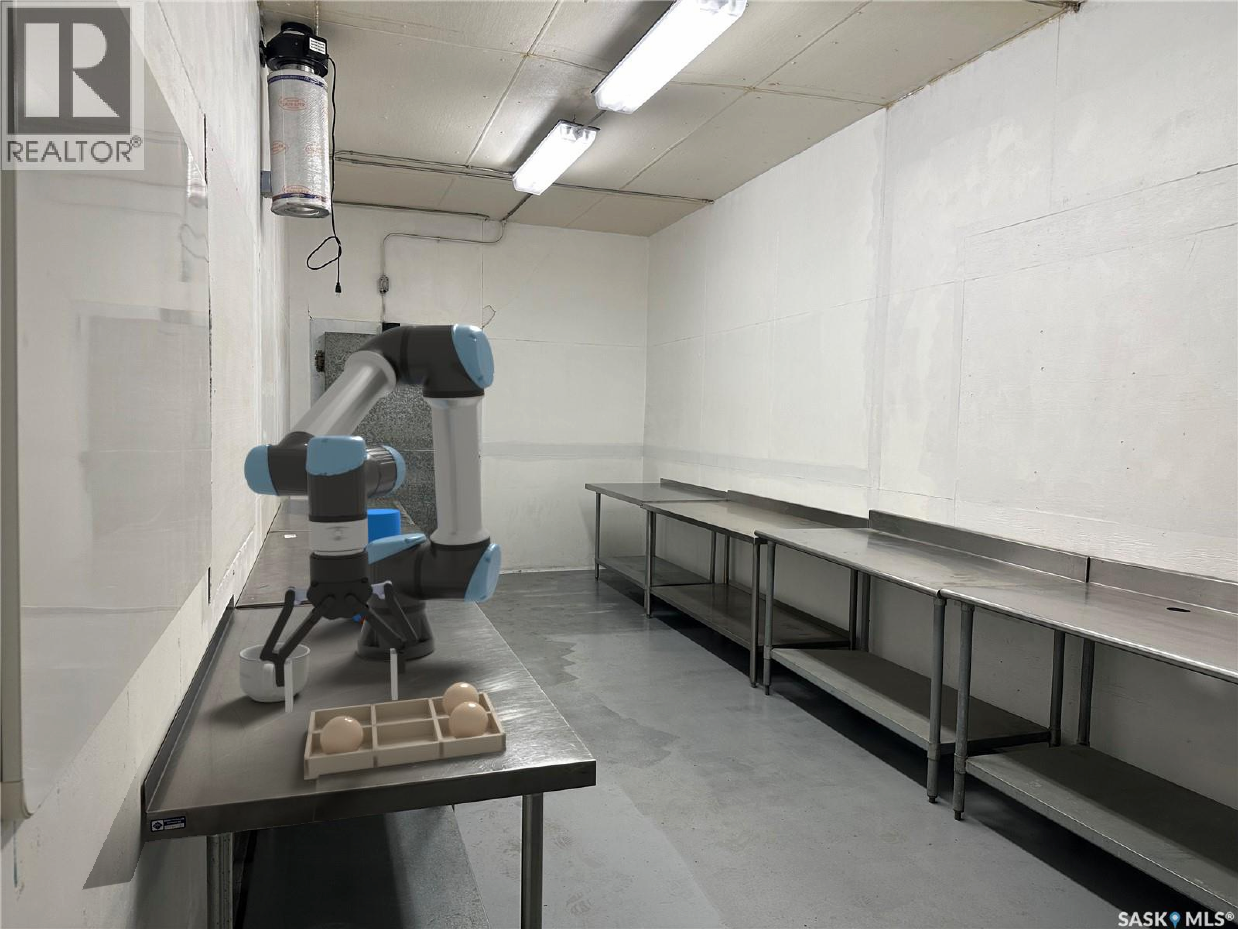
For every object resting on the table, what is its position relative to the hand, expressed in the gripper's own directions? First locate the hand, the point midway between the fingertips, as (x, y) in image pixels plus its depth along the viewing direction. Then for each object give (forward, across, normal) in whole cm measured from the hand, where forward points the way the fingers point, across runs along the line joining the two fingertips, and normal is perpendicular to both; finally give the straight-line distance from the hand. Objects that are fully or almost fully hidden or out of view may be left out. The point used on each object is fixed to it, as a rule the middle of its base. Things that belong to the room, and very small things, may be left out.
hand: (343, 702), depth 107 cm
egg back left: (+8, +17, +8) cm, 20 cm away
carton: (+8, +8, +4) cm, 12 cm away
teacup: (+9, -12, +27) cm, 31 cm away
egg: (+7, 0, -1) cm, 7 cm away
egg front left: (+8, +17, 0) cm, 19 cm away
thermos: (+10, +6, +77) cm, 78 cm away
